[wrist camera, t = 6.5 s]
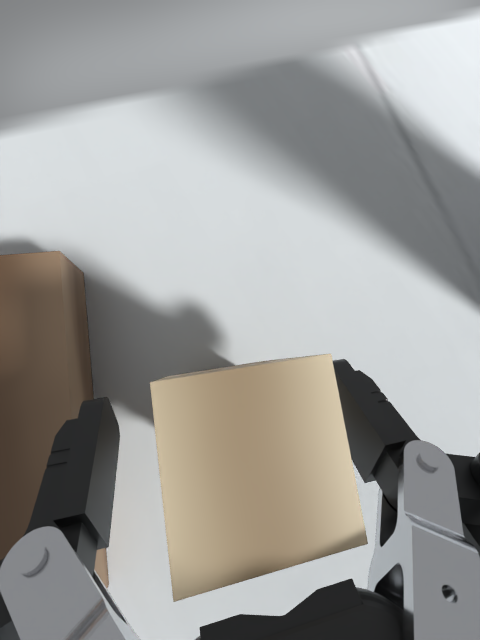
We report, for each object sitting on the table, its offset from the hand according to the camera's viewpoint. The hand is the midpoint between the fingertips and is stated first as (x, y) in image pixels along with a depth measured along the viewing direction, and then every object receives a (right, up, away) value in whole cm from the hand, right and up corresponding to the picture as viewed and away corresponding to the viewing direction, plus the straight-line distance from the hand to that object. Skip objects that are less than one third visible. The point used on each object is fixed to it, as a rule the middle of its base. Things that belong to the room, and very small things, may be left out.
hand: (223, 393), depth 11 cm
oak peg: (-1, -2, +5) cm, 5 cm away
